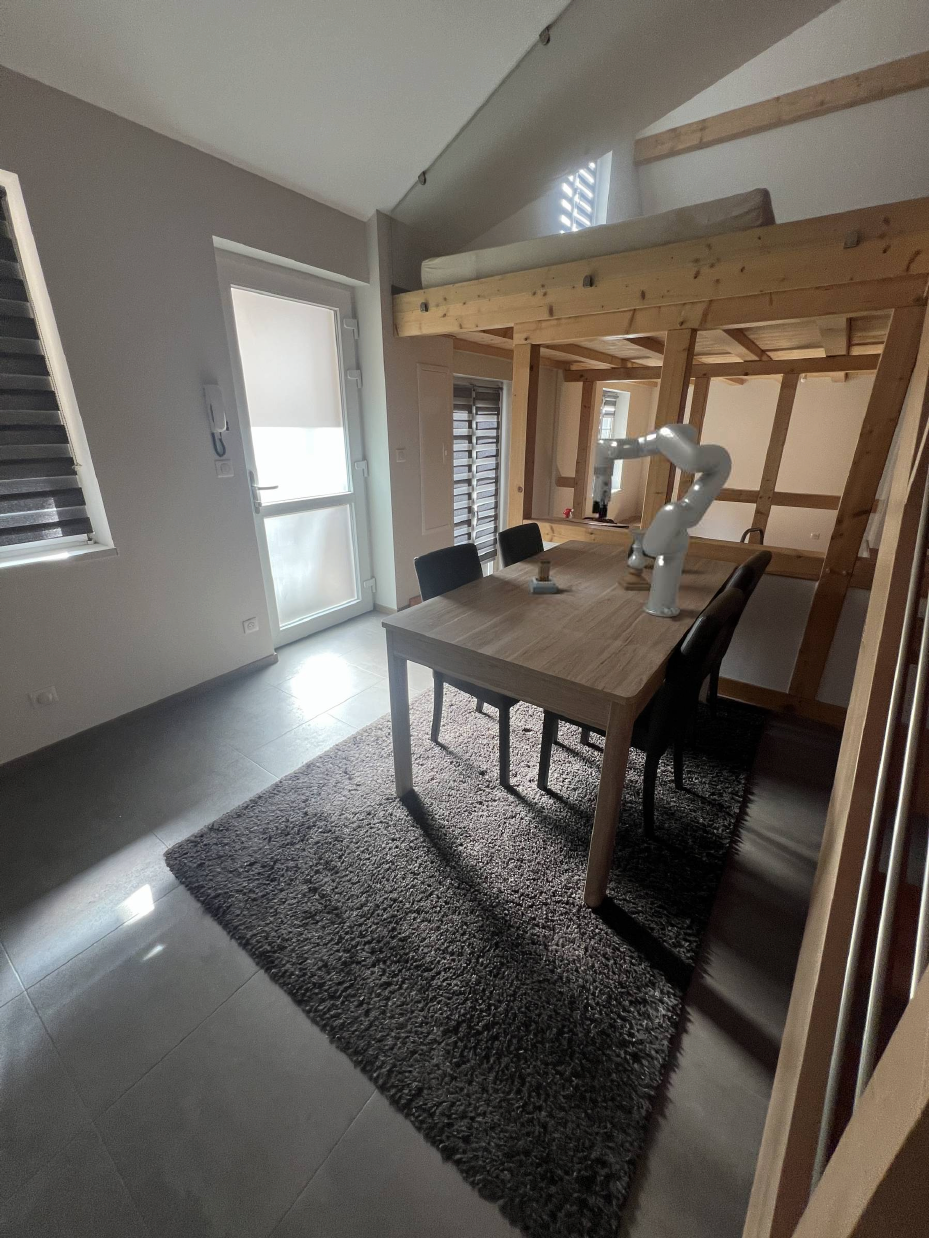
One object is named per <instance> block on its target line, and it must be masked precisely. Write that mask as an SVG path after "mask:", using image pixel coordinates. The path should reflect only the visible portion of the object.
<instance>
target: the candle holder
mask: <svg viewBox="0 0 929 1238" xmlns="http://www.w3.org/2000/svg"><path fill="white" fill-rule="evenodd" d="M647 530H648V529H644V528H631V529H628V530H627V534H628V535H631V536H633V539H634V538H635V540H634V541H635V543H634V545H633V546H632V547H633V549H634V553H633V554H632V556H631V557H630V558H629V560H628V559H627V566H628V565H629V566H630V567H628V570H627V572H628V574H626V575H621V576H620V577H619V578H617V579H618V580H617V584H618V585H619V586H620V587H621V589H622V590H623V591H650V589H651V585H650V584H649V581H648V579H646V578H645V577H644V576H643V573H644V569H643V568H645V567H646V565H647V564H646V563H647V561H646V559H645V556H643V554H642V551H643V550H644V549H643V538H644V536H645V534H646V532H647Z"/></svg>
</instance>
